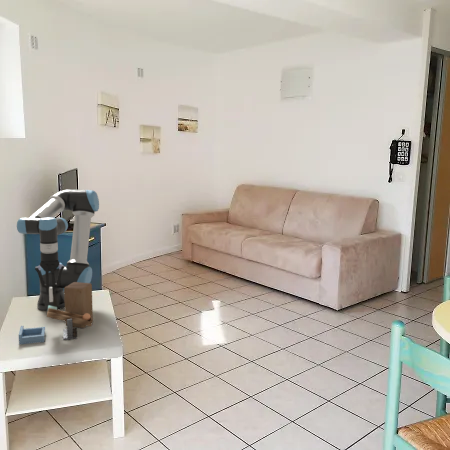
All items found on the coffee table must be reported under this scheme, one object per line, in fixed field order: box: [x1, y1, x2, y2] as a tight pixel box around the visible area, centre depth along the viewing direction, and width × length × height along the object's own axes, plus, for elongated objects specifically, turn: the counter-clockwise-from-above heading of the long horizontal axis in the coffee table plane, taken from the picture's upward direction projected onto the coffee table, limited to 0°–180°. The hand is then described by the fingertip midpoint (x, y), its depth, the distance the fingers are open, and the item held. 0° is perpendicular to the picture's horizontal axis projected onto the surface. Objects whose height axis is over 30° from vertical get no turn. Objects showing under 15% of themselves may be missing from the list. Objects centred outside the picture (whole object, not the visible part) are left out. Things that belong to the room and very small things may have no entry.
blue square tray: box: [18, 325, 46, 346], centre depth 215 cm, size 10×10×4 cm
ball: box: [83, 313, 91, 321], centre depth 221 cm, size 4×4×4 cm
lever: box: [46, 305, 94, 327], centre depth 222 cm, size 20×13×4 cm, turn 108°
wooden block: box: [63, 282, 94, 329], centre depth 231 cm, size 10×10×20 cm
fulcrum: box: [62, 312, 78, 341], centre depth 220 cm, size 6×11×9 cm, turn 18°
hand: (51, 301), depth 221 cm, fingers closed
